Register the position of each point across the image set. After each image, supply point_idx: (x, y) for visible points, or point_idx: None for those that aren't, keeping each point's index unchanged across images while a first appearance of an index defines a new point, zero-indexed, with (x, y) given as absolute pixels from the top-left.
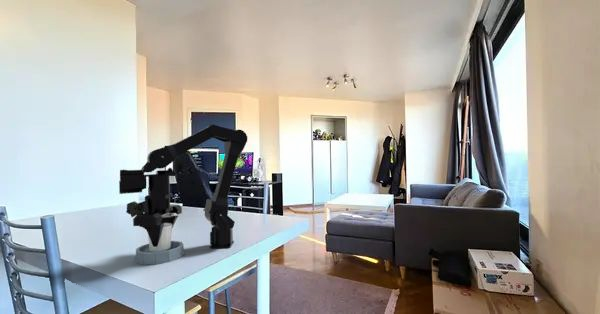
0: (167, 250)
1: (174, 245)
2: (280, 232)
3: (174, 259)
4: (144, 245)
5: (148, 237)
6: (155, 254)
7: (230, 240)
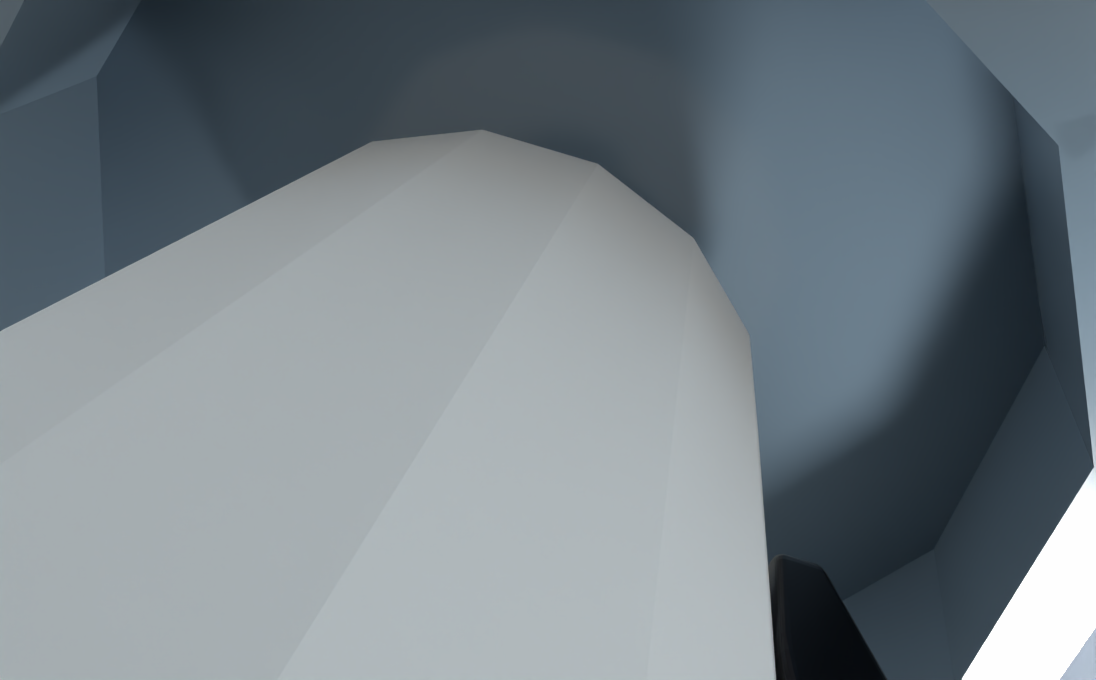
0: (776, 443)
1: (893, 631)
2: None
3: None
4: None
5: (84, 288)
6: None
7: None
